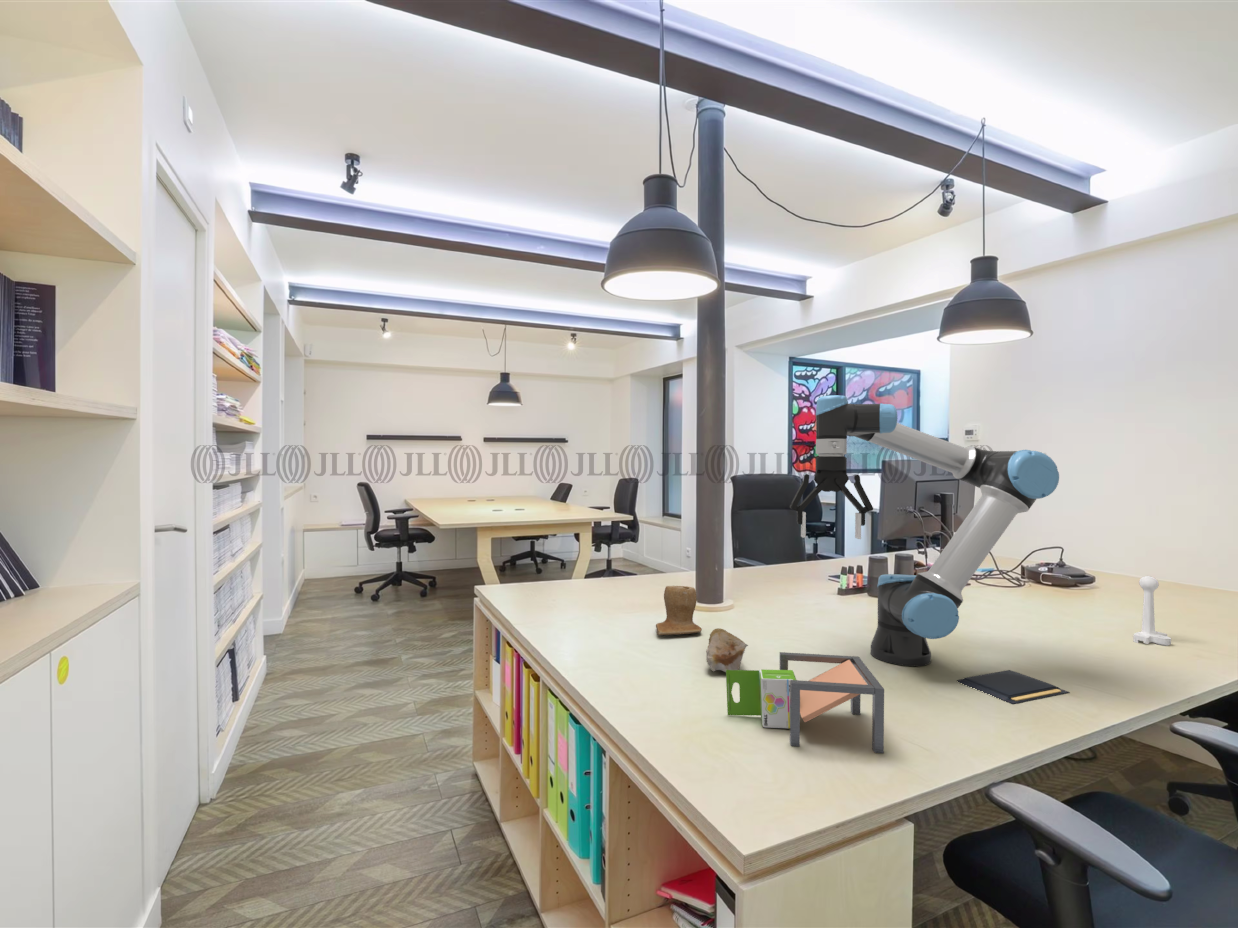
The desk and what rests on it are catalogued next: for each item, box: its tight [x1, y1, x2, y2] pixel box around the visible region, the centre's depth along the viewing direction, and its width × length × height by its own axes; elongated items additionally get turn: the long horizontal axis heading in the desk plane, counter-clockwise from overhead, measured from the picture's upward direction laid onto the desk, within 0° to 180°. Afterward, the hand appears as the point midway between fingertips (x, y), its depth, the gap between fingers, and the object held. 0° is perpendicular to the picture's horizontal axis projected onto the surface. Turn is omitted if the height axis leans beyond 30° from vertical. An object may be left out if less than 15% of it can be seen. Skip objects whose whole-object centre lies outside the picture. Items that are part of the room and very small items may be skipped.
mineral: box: [705, 627, 749, 673], centre depth 157 cm, size 26×9×10 cm
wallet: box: [956, 669, 1071, 705], centre depth 139 cm, size 20×2×15 cm
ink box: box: [725, 669, 797, 729], centre depth 119 cm, size 10×5×14 cm
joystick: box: [1132, 575, 1172, 647], centre depth 174 cm, size 11×8×20 cm
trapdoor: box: [800, 660, 868, 723], centre depth 116 cm, size 14×14×1 cm
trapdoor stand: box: [778, 651, 885, 754], centre depth 116 cm, size 17×18×12 cm
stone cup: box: [655, 585, 703, 636], centre depth 181 cm, size 15×12×15 cm
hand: (830, 537), depth 148 cm, fingers open, 13 cm apart
